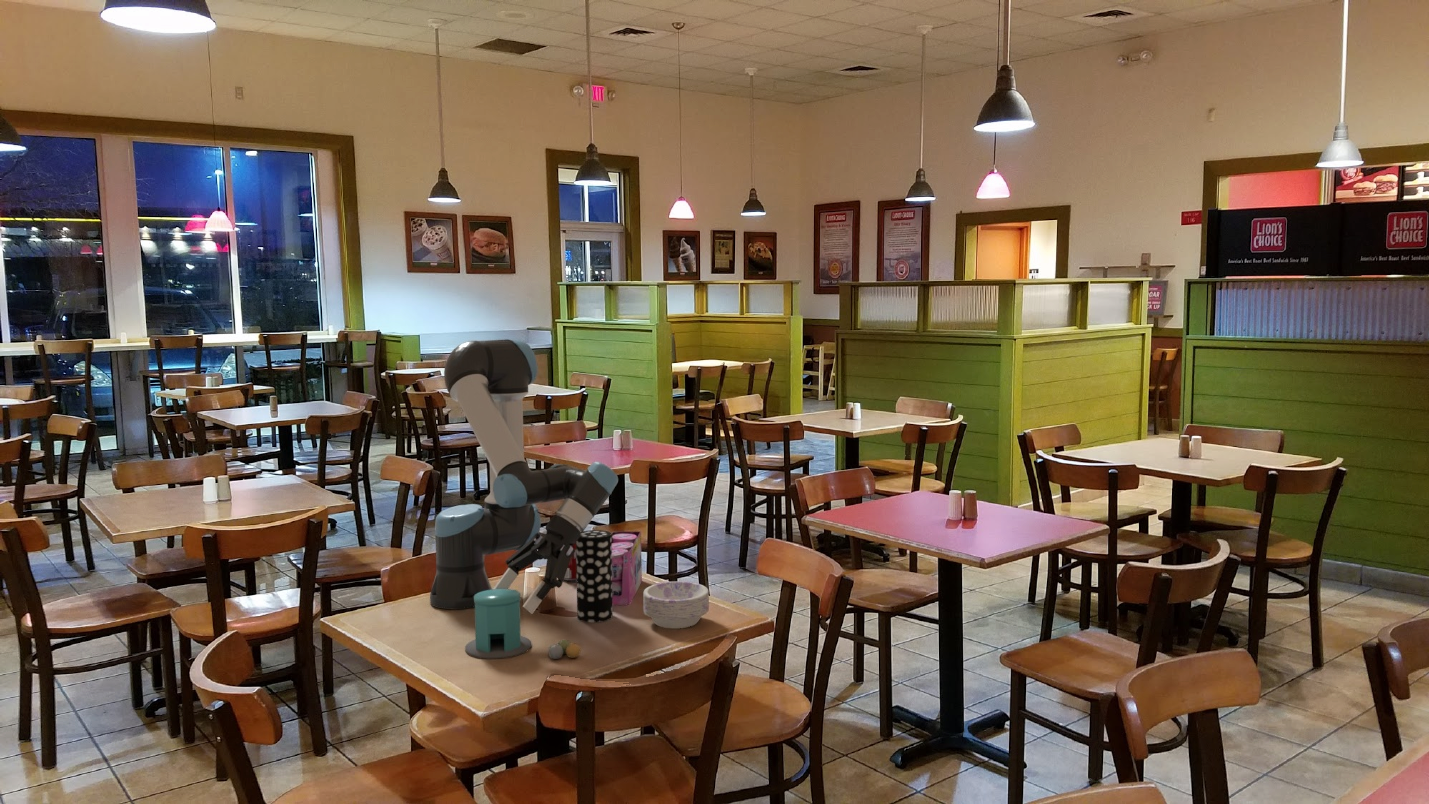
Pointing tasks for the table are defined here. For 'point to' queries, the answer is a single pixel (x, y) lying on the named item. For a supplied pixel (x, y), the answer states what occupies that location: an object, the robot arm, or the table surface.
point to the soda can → (571, 568)
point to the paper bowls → (676, 603)
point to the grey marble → (555, 651)
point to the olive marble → (564, 645)
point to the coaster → (497, 649)
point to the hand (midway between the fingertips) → (511, 602)
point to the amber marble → (573, 650)
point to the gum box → (625, 566)
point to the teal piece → (497, 618)
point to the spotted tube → (594, 576)
